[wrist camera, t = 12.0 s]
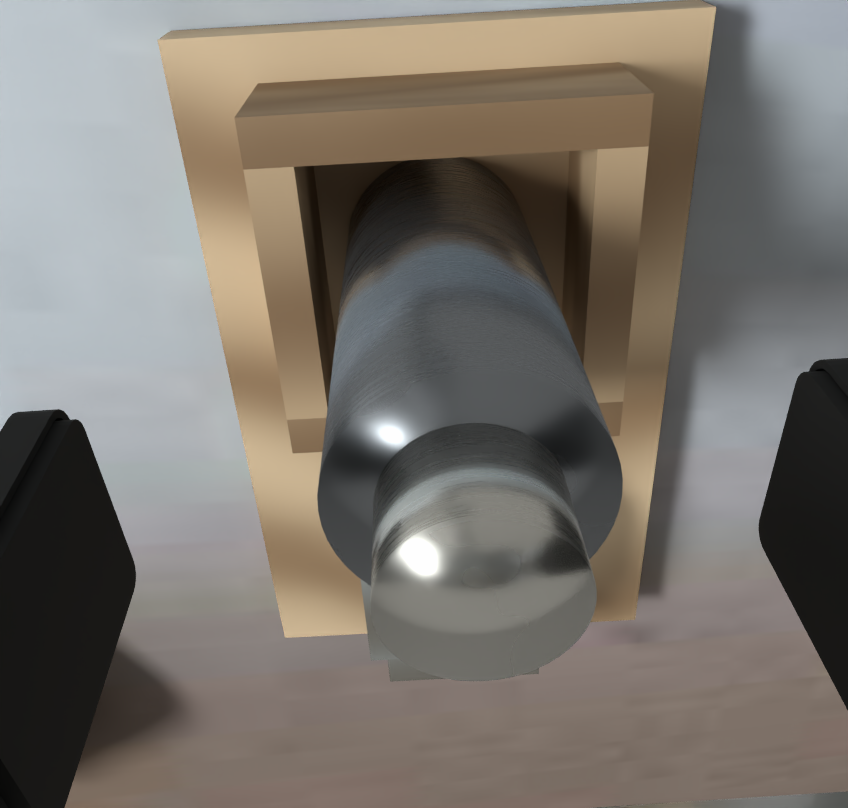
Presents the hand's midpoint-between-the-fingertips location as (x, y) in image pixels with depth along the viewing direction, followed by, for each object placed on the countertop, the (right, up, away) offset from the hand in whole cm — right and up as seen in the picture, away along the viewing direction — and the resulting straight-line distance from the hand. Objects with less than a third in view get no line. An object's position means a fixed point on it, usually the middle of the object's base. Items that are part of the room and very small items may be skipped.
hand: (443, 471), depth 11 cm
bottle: (0, +5, +9) cm, 10 cm away
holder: (0, +2, +13) cm, 13 cm away
